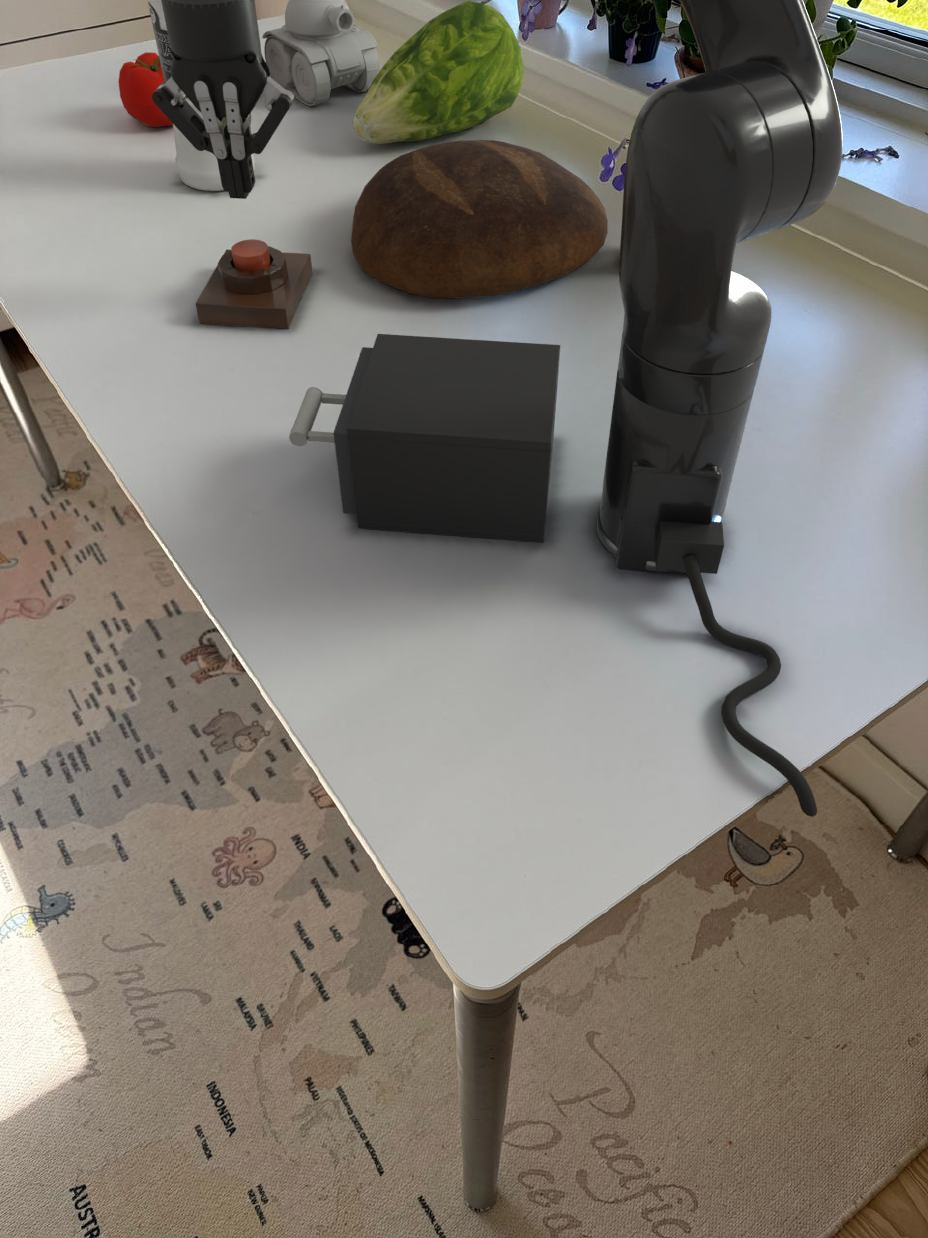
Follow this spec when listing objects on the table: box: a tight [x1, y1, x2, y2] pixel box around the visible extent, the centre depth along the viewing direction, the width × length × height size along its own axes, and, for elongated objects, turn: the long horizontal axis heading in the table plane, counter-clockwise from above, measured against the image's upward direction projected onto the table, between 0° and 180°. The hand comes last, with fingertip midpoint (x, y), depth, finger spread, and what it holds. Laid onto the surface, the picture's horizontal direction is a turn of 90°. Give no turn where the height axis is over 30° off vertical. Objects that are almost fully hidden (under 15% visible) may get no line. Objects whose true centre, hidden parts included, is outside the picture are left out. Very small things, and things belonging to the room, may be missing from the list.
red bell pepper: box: [118, 51, 173, 128], centre depth 131 cm, size 9×9×8 cm
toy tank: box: [261, 0, 381, 107], centre depth 136 cm, size 15×11×13 cm
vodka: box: [146, 0, 257, 192], centre depth 111 cm, size 9×9×30 cm
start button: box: [230, 238, 271, 272], centre depth 99 cm, size 4×4×2 cm
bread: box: [350, 139, 609, 299], centre depth 107 cm, size 28×27×9 cm
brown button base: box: [195, 245, 314, 330], centre depth 101 cm, size 11×9×4 cm
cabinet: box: [347, 333, 561, 544], centre depth 79 cm, size 15×13×10 cm
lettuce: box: [352, 0, 525, 145], centre depth 126 cm, size 14×23×13 cm, turn 126°
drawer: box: [288, 346, 373, 515], centre depth 79 cm, size 18×11×8 cm, turn 83°
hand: (240, 194), depth 95 cm, fingers closed
